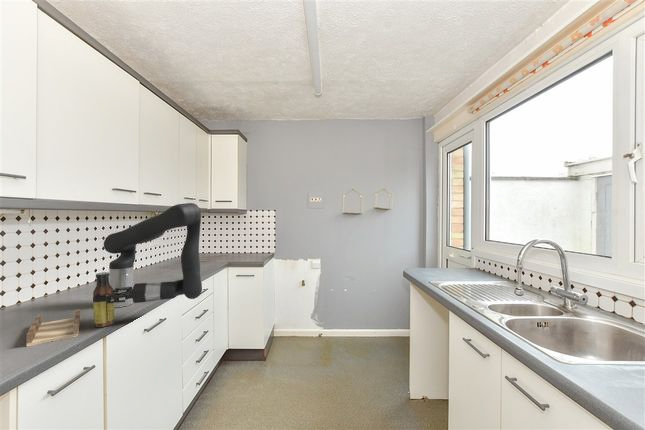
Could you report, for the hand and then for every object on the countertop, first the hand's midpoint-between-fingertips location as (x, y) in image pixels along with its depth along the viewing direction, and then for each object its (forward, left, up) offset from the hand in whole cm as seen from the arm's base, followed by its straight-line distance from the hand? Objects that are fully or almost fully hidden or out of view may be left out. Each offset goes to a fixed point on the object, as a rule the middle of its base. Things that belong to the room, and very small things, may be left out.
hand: (96, 296), depth 107 cm
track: (-2, -11, -11) cm, 16 cm away
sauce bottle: (+1, +2, -11) cm, 11 cm away
